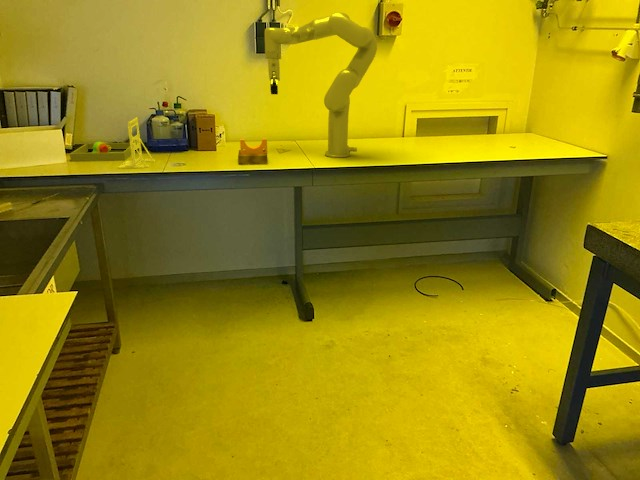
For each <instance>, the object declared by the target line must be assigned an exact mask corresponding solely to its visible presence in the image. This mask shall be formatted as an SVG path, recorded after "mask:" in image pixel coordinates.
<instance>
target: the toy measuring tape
mask: <svg viewBox="0 0 640 480" xmlns="http://www.w3.org/2000/svg"><path fill="white" fill-rule="evenodd" d="M94 143H95V144H94V145H93V151H91V153H111V151H112V150H111V149H112V148H111V147H110V145H107V144H106V143H107V142H104V141H103V142H102V141H96V142H94Z"/></svg>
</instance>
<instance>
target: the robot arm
mask: <svg viewBox="0 0 640 480" xmlns="http://www.w3.org/2000/svg"><path fill="white" fill-rule="evenodd" d="M332 36H337V37H339V38H340V39H342V40H343V41H345V42H346V43H347V44H349V45H351V46H353V47H355V48H357V51H356V52H355V54H354V55H353V57H352V59H351V60H350V62H349V63H348V65H347V67H346V68H345V69H342V70H341V71H339V72H338V74H337V75H336V76H335V78H334V80H333V81H332V83H331V85H330V86H329V88H328V90H327V92H326V94H325V95H324V98H323V104H324V106H325V108H326V109H327V110H328V119H327V120H328V121H327V122H328V123H327V124H328V125H327V126H328V127H327V128H328V129H327V151H325V152H324V156H326V157H329V158H334V159H335V158H339V159H340V158H341V159H342V158H347V157H350V156H351V152H358V147H354V146H352V147H351V146H349V145H348V144H349V143H348V141H349V140H348V139H349V138H348V135H349V115H350V114H349V112H350V102H351V101H350V100H351V97H350V96H351V93H352V92H353V91H354V89H356V88H358V87H359V86H360V84H361V82H362V81H363V80H362V79H363V78H364V76H365V75H366V73H367V72H368V70H369V68H370V66H371V64H372V62H373V60H374V59H375V57H376V55H377V50H378V44H377V43H378V41H377V39H376V36H375V34H374V32H373V31H372V30H371V29H370V28H368V27H365V26H361V25H359V24H358V23H356V22H355V21H353V20H351V18H350V16H349V15H348V14H347V13H344V12H339V11H338V12H334V13H332V14H331V15H326V16H323V17H319V18H315V19H313V20H311V21H310V22H308V23H305V24H302V25H298V26H291V27H290V26H286V27H266V28H265V29H264V56H265V60H267V70H268V71H267V72H268V79H269V81H270V94H271V95H278V92H279V91H278V90H279V88H278V82H279V81H281V80H280V79H281V75H280V74H281V73H280V68H281V67H280V60H282V45H285V46H286V45H287V46H289V45H297V44H301V43H306V42H310V41H314V40H315V41H316V40H320V39H325V38H328V37H332Z"/></svg>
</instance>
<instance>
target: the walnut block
mask: <svg viewBox="0 0 640 480" xmlns="http://www.w3.org/2000/svg"><path fill="white" fill-rule="evenodd" d="M243 151H245V149H243ZM237 160H238V161H237V163H238V165H239V166H242V165H244V166H245V165H246V164H247V165H248V164H249V165H268V152H267V153H264V154H241V149H239V150H238V154H237ZM249 165H248V166H249Z"/></svg>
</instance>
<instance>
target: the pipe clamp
mask: <svg viewBox="0 0 640 480" xmlns="http://www.w3.org/2000/svg"><path fill="white" fill-rule="evenodd" d="M239 145H240V149H239V150H241V154H264V153H267V154H268V139H267V138H266V137H265V138H264V137H263V138H261V142H260V144H257V145H255V146H249V145H248V144H247V143H246V139H245V138H240V139H239ZM243 150H245V151H243Z"/></svg>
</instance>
